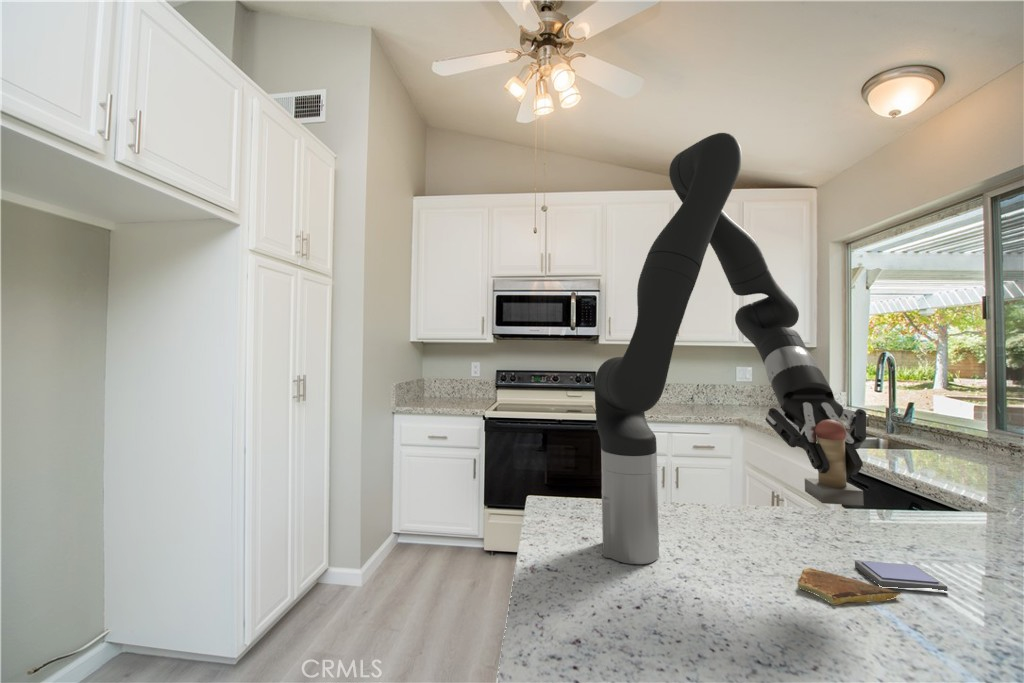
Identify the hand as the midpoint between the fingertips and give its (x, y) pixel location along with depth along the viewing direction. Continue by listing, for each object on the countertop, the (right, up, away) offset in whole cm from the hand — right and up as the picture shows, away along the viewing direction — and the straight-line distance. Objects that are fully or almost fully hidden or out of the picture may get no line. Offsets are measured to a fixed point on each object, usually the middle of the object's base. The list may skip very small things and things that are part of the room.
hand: (840, 470), depth 58 cm
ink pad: (+11, -17, +3) cm, 21 cm away
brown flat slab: (+1, -18, +1) cm, 18 cm away
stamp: (0, -5, +2) cm, 5 cm away
